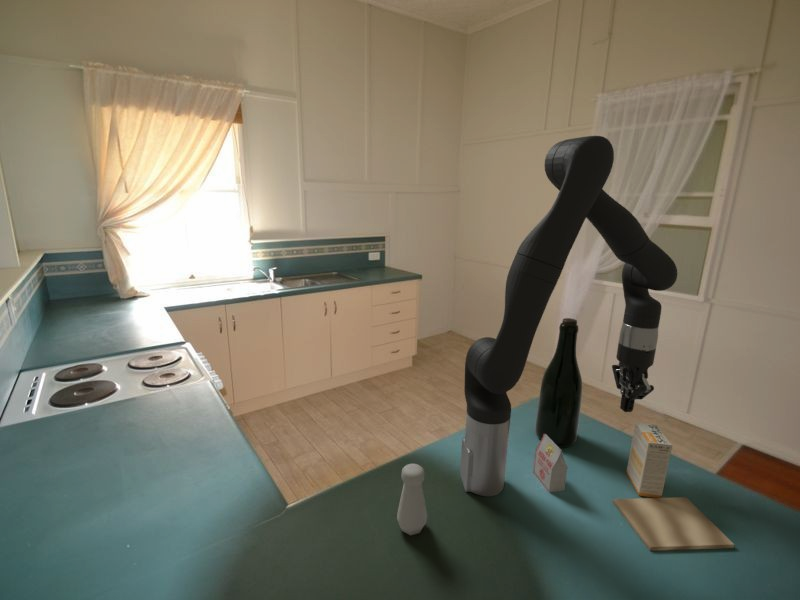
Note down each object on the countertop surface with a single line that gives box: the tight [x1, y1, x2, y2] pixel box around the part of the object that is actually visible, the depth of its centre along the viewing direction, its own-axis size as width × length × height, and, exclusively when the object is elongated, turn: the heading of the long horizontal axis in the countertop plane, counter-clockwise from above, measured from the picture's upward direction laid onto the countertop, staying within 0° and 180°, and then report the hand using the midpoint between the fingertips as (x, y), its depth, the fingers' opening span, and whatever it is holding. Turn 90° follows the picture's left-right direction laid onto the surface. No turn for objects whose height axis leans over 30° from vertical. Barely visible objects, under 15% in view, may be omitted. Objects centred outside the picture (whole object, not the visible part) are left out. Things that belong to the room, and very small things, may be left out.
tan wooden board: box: [612, 496, 735, 552], centre depth 79 cm, size 16×12×1 cm
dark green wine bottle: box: [534, 317, 583, 448], centre depth 104 cm, size 10×10×33 cm
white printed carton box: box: [532, 434, 568, 493], centre depth 90 cm, size 4×7×10 cm, turn 11°
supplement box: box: [626, 422, 673, 498], centre depth 89 cm, size 8×5×13 cm, turn 168°
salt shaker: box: [396, 463, 428, 536], centre depth 76 cm, size 6×6×13 cm
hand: (626, 410), depth 97 cm, fingers closed
